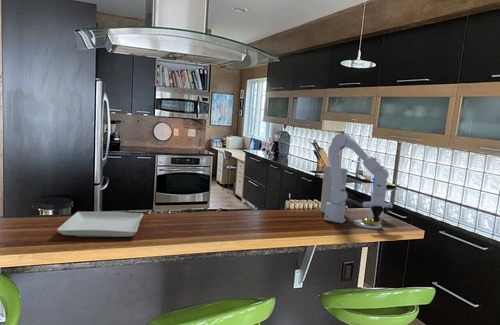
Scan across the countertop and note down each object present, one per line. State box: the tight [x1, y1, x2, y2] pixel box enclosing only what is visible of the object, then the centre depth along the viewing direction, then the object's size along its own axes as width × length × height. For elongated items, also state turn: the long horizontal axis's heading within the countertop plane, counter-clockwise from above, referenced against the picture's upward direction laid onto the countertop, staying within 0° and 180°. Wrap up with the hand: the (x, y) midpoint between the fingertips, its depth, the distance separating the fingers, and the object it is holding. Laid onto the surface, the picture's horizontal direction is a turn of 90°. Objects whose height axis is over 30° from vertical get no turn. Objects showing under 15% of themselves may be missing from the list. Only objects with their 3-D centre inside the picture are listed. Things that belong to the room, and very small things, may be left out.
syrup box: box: [368, 192, 386, 221], centre depth 188 cm, size 6×6×14 cm
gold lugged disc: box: [361, 215, 383, 225], centre depth 172 cm, size 8×8×4 cm
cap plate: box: [353, 219, 383, 230], centre depth 173 cm, size 13×13×4 cm
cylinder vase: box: [319, 166, 348, 214], centre depth 195 cm, size 12×12×25 cm
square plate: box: [56, 211, 144, 238], centre depth 139 cm, size 27×27×4 cm
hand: (375, 221), depth 169 cm, fingers closed, pressing on gold lugged disc
